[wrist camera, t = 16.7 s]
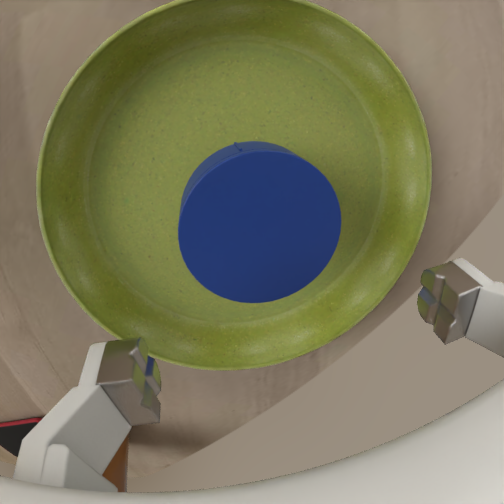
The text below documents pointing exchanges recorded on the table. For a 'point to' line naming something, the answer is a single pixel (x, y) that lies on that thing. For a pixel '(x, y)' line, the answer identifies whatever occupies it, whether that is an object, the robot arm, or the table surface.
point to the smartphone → (16, 433)
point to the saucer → (208, 142)
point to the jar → (119, 467)
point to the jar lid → (257, 222)
